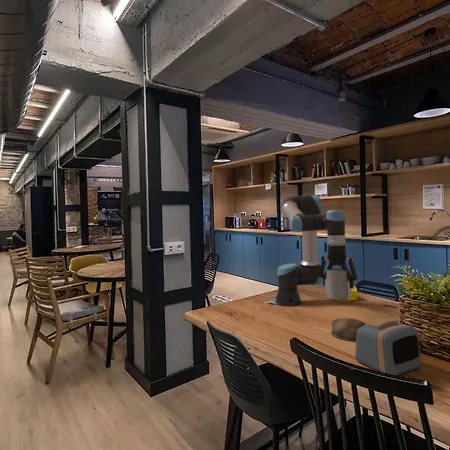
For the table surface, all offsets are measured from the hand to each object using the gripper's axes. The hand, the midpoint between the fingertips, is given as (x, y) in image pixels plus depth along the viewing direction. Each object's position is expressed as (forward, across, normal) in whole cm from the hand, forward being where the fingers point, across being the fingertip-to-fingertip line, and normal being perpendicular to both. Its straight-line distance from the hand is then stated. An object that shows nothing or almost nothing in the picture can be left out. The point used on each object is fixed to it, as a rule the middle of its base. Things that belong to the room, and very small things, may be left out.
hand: (338, 294), depth 147 cm
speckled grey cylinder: (+1, 0, 0) cm, 1 cm away
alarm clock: (+19, +24, -19) cm, 36 cm away
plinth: (+18, +4, +2) cm, 18 cm away
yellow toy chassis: (+18, -18, +60) cm, 65 cm away
